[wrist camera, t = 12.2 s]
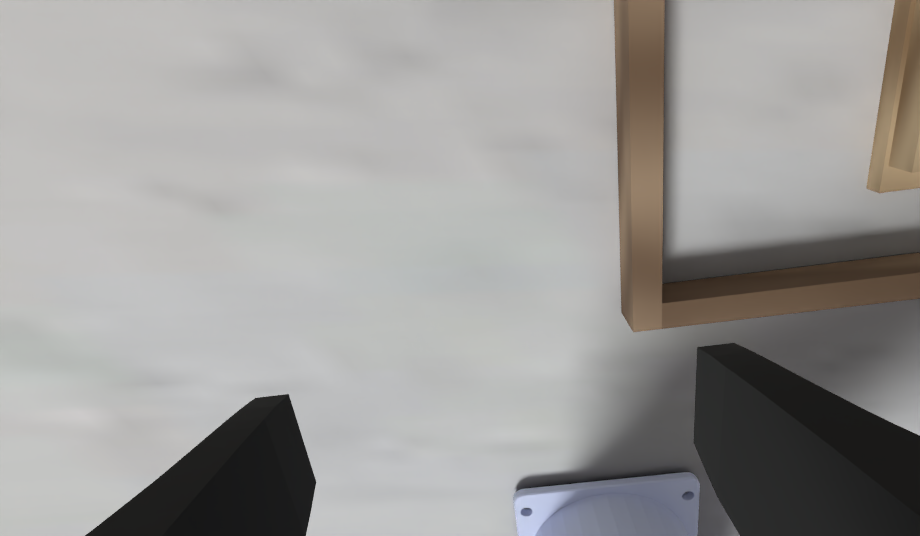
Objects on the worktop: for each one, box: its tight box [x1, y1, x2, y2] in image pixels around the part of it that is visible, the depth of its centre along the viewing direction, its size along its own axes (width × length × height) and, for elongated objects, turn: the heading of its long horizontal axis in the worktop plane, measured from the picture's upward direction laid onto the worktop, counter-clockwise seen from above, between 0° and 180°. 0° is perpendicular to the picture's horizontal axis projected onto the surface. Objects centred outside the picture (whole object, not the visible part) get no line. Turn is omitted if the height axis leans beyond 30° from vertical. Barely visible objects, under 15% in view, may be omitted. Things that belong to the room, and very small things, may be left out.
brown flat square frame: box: [614, 0, 920, 332], centre depth 16 cm, size 16×15×2 cm
